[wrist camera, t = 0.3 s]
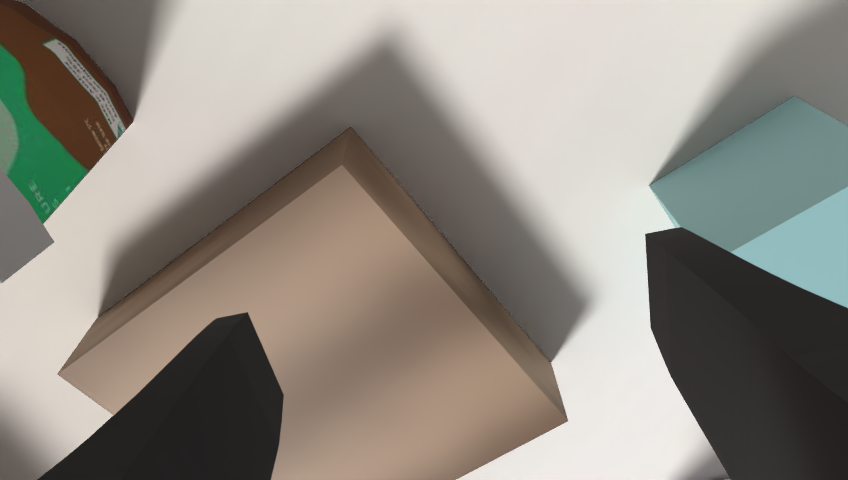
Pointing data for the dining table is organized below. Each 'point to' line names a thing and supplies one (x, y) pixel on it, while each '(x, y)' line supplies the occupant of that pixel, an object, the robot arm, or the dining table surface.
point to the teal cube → (773, 197)
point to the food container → (46, 127)
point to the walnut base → (342, 329)
